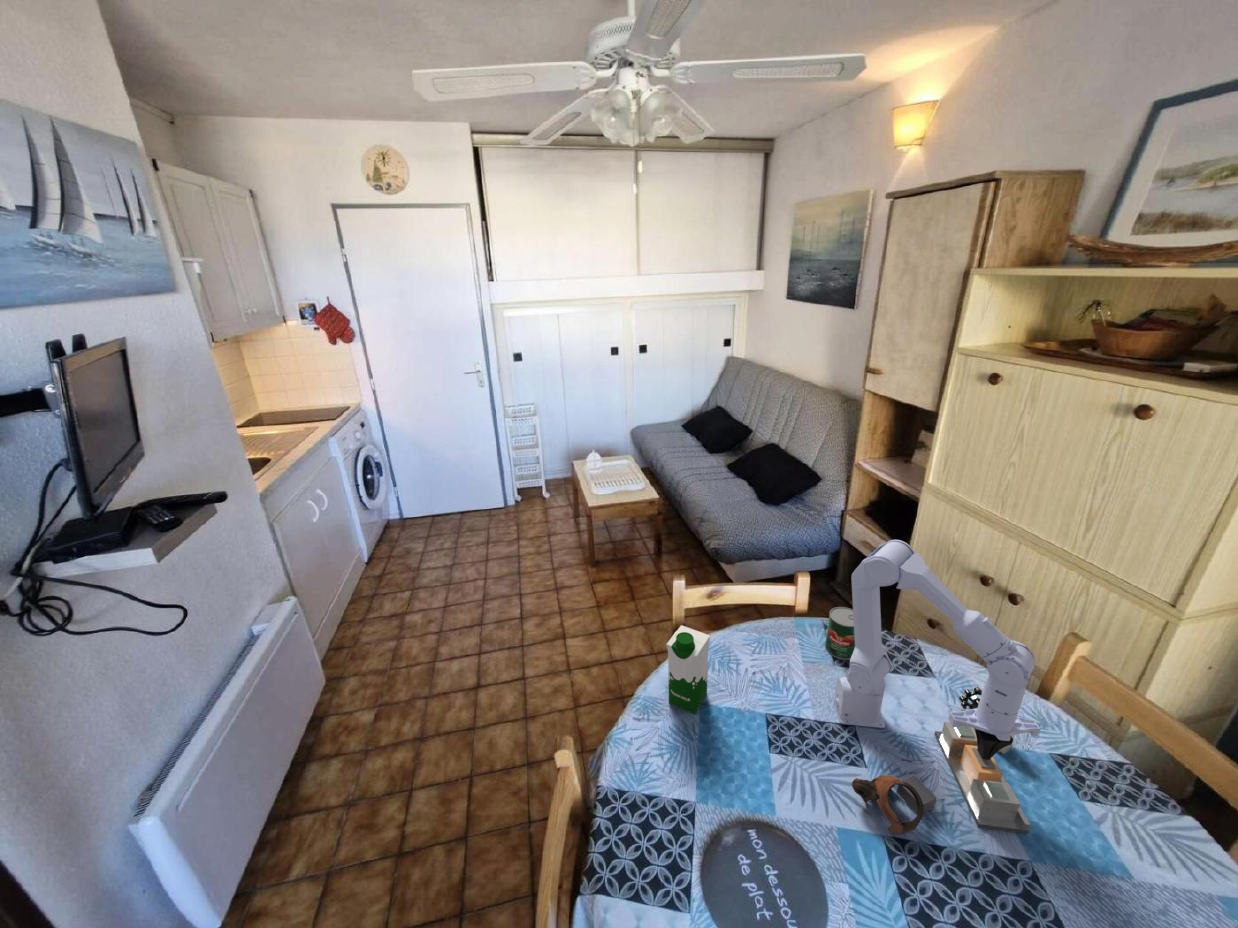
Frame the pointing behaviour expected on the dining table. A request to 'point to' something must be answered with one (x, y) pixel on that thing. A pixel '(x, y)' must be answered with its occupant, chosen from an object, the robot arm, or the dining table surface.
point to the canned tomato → (840, 633)
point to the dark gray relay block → (923, 791)
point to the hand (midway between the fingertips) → (983, 754)
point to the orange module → (979, 766)
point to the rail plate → (966, 790)
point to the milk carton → (688, 668)
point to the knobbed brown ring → (881, 787)
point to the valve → (975, 704)
